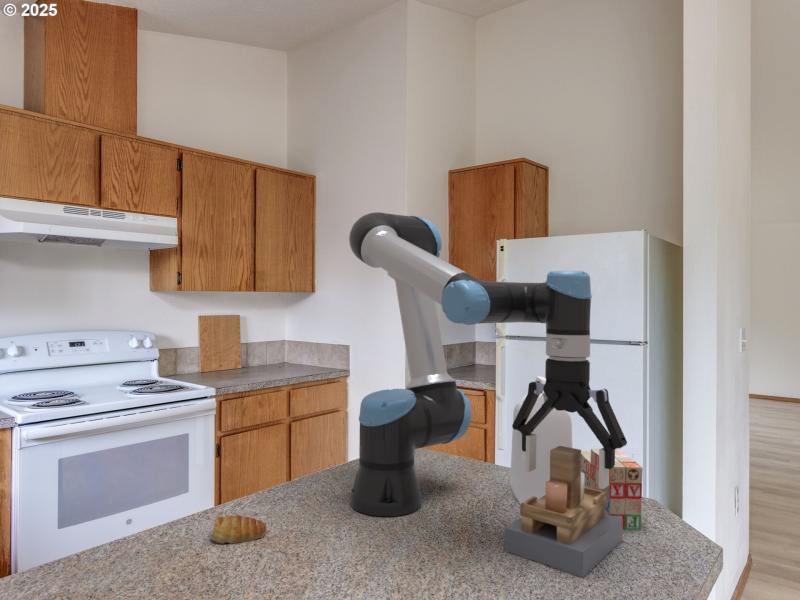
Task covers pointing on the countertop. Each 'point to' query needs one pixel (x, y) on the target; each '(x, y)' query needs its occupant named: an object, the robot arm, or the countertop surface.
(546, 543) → the dock
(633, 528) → the stack of blocks
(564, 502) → the brown egg
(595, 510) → the carrier tray
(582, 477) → the white egg
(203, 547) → the countertop surface
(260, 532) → the pastry
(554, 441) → the milk
